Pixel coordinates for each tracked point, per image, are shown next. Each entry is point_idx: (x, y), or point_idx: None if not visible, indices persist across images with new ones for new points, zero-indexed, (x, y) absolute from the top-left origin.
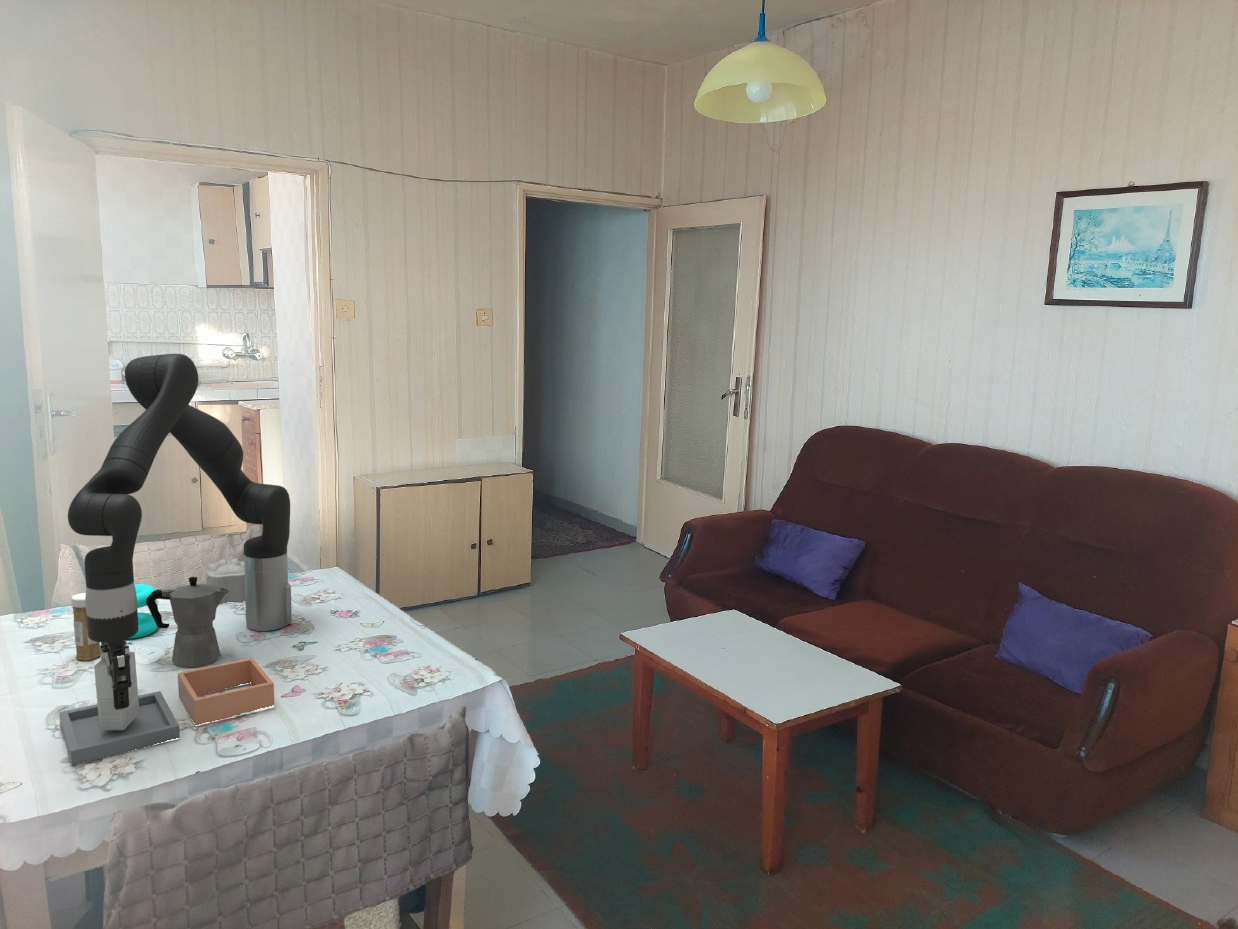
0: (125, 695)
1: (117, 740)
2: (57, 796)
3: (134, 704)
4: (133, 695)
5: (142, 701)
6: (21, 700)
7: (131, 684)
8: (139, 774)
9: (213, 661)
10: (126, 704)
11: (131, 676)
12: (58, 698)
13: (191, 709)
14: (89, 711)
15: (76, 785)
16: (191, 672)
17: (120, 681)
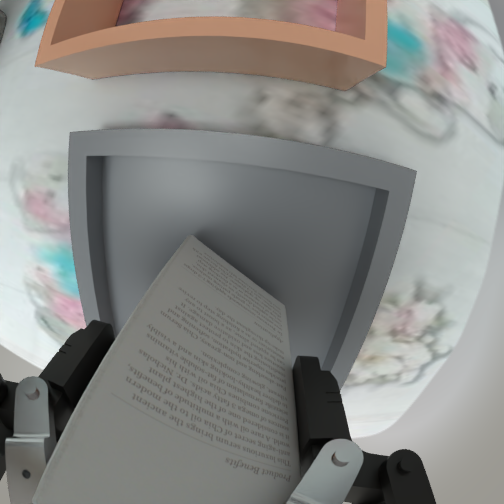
0: (342, 416)
1: (361, 344)
2: (399, 404)
3: (211, 284)
4: (203, 312)
5: (94, 194)
6: (17, 347)
7: (413, 459)
8: (456, 303)
9: (4, 15)
10: (333, 378)
11: (182, 407)
12: (14, 311)
13: (292, 67)
14: None
15: (396, 386)
16: (59, 18)
17: (358, 497)
